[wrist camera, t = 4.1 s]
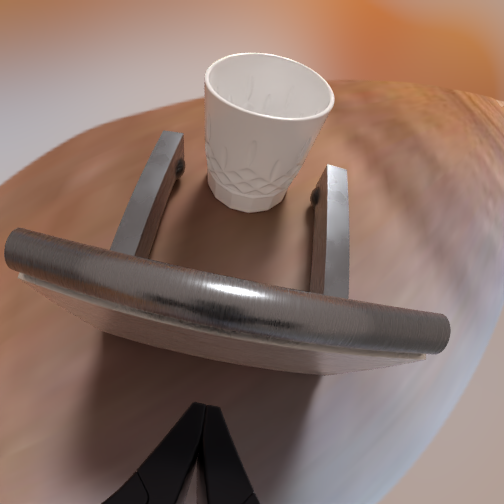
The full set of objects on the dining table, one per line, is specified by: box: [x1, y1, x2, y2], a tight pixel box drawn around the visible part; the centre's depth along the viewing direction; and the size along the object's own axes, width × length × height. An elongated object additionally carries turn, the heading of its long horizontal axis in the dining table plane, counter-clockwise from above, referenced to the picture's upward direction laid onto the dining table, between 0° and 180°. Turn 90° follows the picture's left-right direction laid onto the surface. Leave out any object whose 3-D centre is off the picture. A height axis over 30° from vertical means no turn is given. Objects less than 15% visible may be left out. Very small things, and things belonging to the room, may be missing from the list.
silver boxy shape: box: [4, 131, 450, 376], centre depth 15 cm, size 15×15×12 cm
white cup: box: [205, 53, 334, 213], centre depth 20 cm, size 8×8×10 cm
